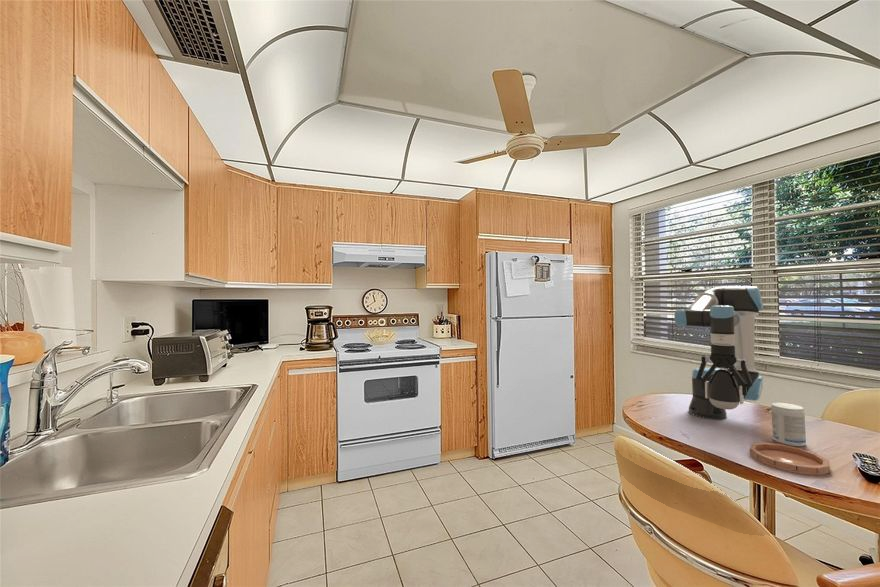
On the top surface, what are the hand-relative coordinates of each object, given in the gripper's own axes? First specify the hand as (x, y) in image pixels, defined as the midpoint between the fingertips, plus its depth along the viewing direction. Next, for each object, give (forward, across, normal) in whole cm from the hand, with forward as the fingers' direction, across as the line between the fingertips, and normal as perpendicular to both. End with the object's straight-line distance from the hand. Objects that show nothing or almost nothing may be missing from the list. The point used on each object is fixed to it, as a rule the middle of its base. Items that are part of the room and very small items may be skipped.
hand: (723, 400), depth 140 cm
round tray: (+18, +18, 0) cm, 25 cm away
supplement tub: (+18, +16, +23) cm, 33 cm away
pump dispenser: (+3, 0, 0) cm, 3 cm away
